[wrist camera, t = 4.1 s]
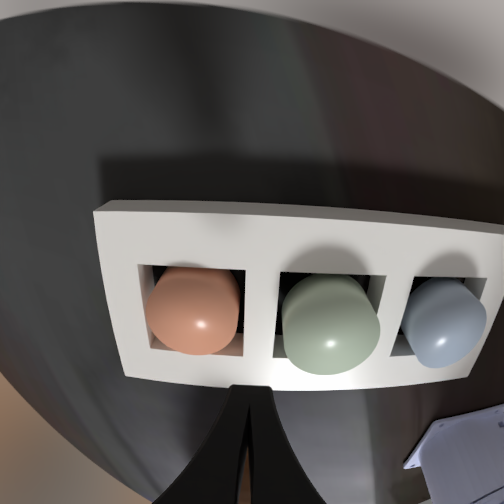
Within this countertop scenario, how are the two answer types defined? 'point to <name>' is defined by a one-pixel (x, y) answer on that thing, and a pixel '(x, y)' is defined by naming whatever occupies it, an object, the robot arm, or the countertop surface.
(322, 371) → the sage button
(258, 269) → the button panel
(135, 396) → the countertop surface
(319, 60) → the countertop surface
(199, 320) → the terracotta button
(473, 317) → the slate button
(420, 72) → the countertop surface
